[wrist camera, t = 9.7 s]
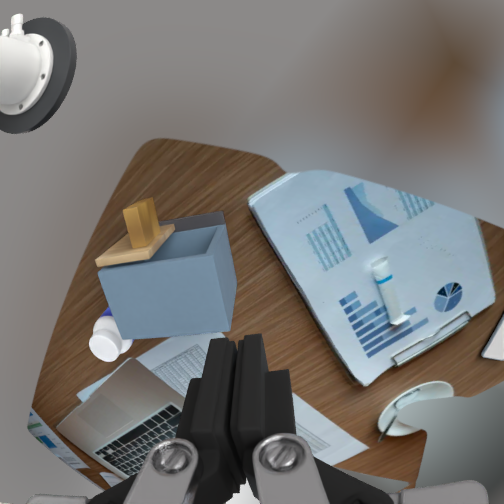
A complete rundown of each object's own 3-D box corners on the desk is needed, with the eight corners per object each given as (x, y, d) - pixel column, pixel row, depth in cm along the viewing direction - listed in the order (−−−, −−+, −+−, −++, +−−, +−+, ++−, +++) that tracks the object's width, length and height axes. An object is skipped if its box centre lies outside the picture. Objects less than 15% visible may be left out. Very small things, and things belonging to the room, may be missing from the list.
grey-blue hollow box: (131, 226, 39) (92, 257, 29) (223, 210, 38) (209, 238, 28) (150, 294, 42) (122, 339, 32) (237, 283, 41) (230, 331, 31)
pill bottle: (150, 299, 43) (125, 339, 33) (145, 330, 44) (122, 372, 35) (114, 287, 42) (83, 323, 33) (111, 318, 44) (84, 357, 35)
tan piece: (122, 201, 37) (83, 221, 28) (166, 191, 37) (137, 209, 28) (131, 237, 39) (97, 267, 30) (175, 229, 38) (150, 259, 29)
